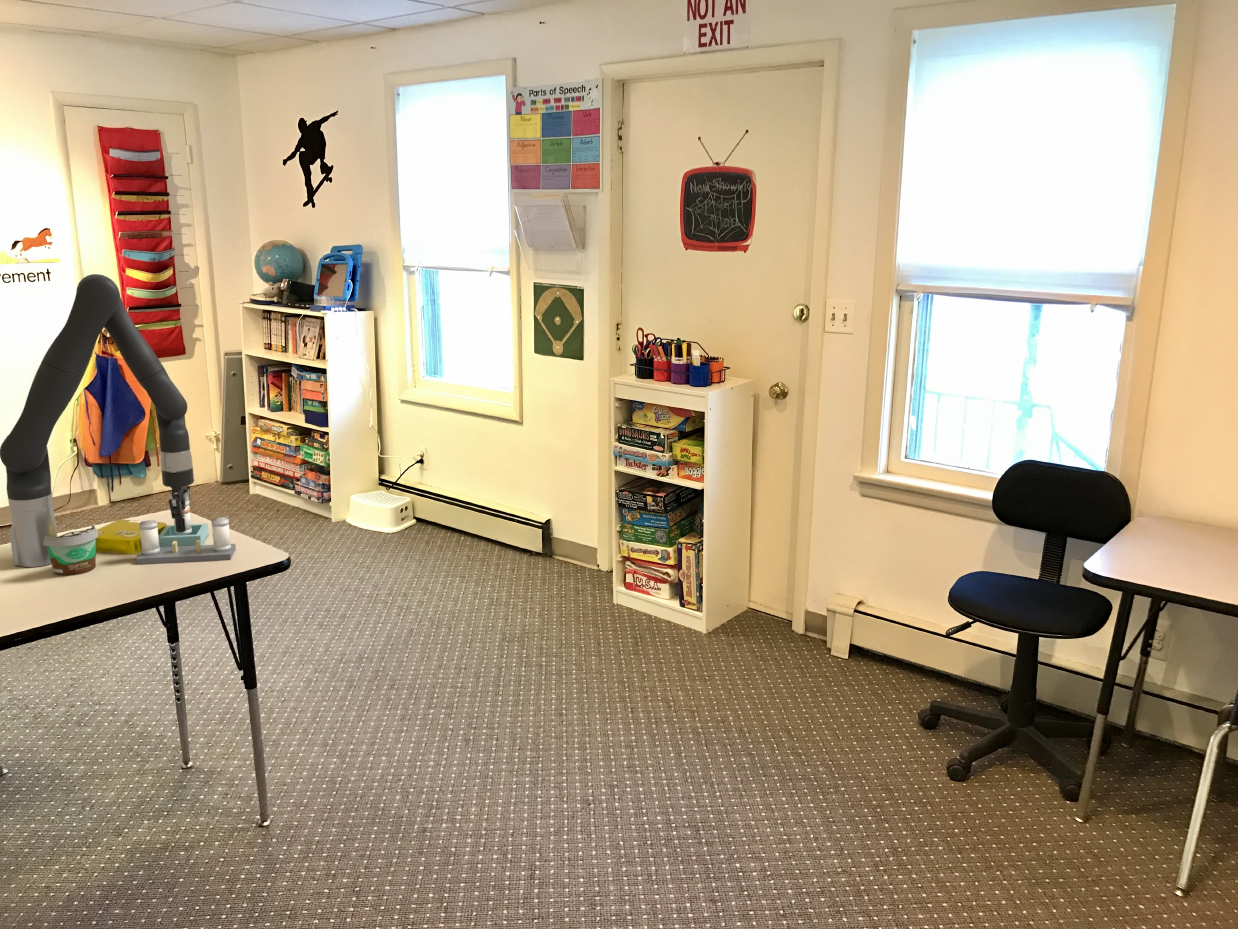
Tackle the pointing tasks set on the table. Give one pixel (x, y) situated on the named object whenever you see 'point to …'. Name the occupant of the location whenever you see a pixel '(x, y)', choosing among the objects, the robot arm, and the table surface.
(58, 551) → the food container
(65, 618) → the table surface
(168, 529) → the tray
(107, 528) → the element tile
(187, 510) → the marked fuse
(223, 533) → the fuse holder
